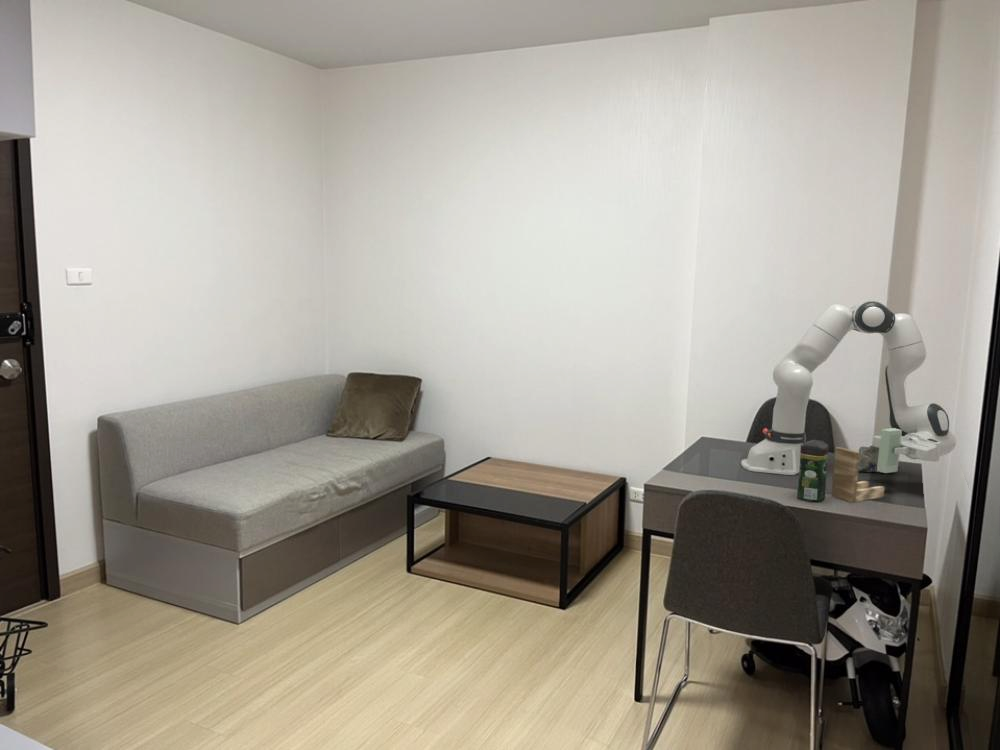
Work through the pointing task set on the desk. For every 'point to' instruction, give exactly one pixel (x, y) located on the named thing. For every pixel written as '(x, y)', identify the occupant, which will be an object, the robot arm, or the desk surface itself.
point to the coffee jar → (812, 470)
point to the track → (851, 478)
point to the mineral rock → (868, 459)
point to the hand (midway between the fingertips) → (887, 449)
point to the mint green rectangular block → (888, 450)
